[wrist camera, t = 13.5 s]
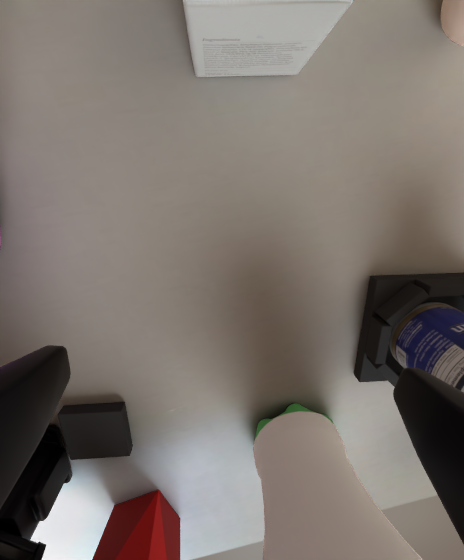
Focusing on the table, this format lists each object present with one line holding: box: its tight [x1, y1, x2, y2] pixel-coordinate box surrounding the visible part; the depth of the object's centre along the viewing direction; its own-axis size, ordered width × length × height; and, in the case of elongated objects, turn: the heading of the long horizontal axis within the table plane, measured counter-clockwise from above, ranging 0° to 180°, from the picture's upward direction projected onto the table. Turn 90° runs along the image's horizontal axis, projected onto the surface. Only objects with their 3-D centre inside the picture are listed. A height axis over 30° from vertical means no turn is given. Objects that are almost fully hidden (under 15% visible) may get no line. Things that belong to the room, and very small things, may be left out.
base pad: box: [58, 402, 133, 460], centre depth 24 cm, size 5×5×1 cm
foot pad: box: [354, 273, 464, 387], centre depth 22 cm, size 9×9×2 cm
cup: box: [253, 403, 423, 560], centre depth 19 cm, size 11×11×14 cm
